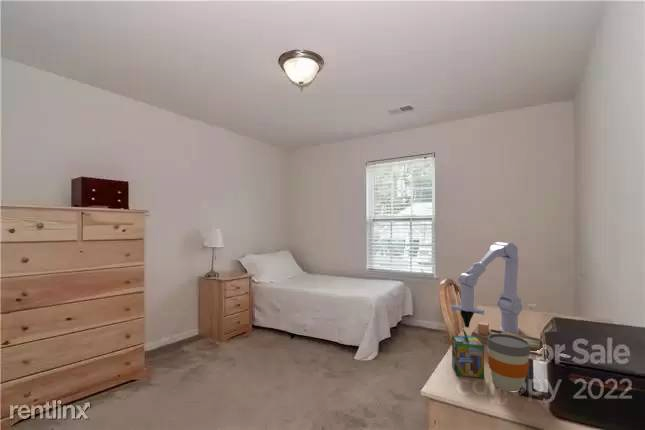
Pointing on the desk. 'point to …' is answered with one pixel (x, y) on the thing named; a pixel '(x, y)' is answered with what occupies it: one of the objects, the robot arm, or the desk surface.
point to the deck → (533, 342)
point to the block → (483, 327)
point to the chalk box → (467, 356)
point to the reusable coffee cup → (508, 361)
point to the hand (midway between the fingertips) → (467, 326)
